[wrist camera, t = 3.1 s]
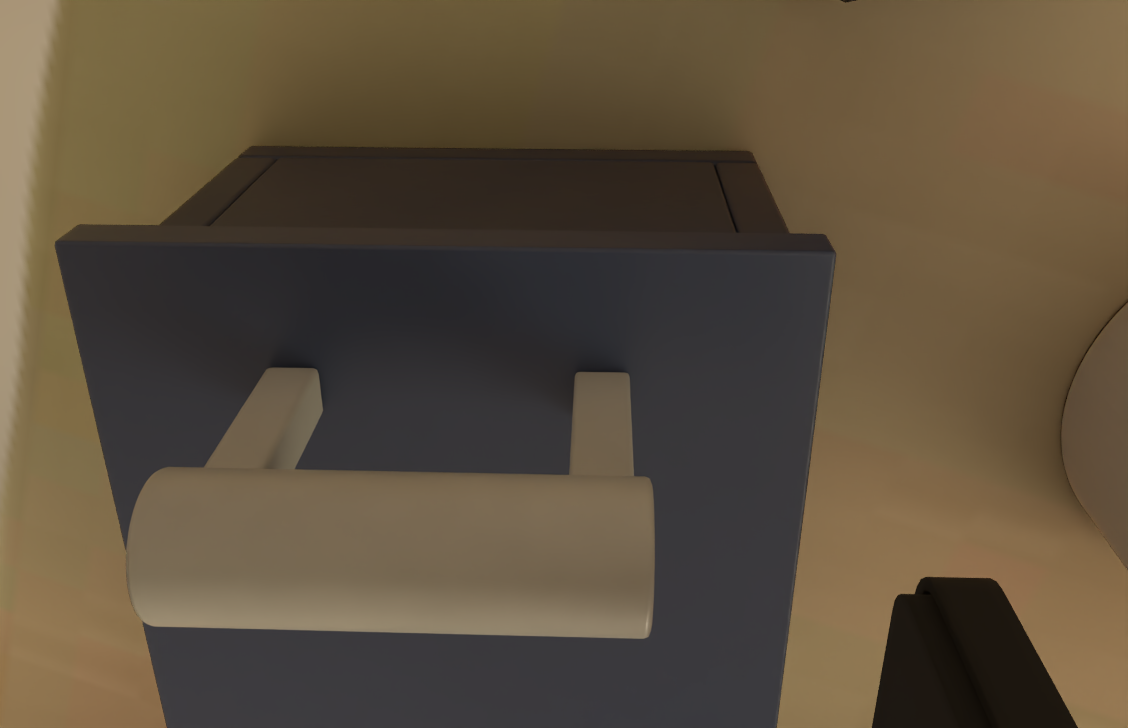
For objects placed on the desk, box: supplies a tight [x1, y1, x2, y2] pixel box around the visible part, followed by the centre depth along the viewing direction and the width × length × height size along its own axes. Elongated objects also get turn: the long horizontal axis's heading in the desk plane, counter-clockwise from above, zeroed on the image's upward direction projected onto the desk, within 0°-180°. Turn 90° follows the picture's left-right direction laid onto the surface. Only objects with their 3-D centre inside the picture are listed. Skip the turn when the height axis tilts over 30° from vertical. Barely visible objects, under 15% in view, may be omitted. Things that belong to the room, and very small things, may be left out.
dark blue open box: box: [160, 146, 789, 233], centre depth 20 cm, size 13×10×7 cm
